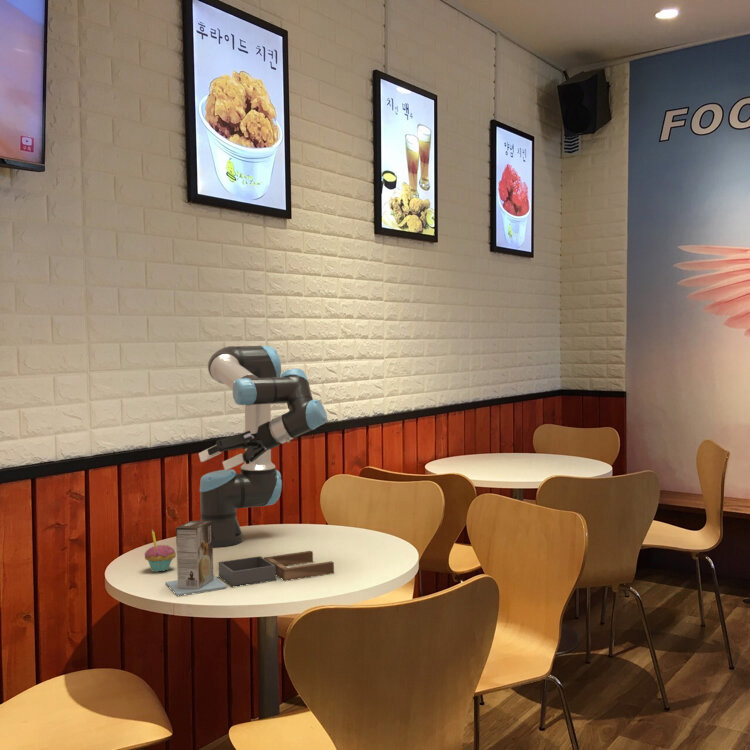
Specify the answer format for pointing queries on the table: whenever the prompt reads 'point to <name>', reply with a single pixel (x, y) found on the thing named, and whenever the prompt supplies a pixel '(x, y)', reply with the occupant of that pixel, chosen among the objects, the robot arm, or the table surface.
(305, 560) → the walnut slot
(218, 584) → the mat
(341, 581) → the table surface
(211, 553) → the coffee box
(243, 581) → the bin
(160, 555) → the cupcake
